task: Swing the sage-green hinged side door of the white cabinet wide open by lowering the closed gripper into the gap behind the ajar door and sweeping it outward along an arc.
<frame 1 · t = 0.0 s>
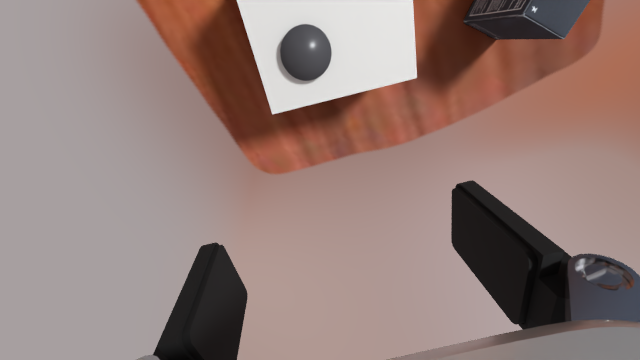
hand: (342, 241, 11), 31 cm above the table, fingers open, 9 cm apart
white cabinet: (321, 27, 35), on the table
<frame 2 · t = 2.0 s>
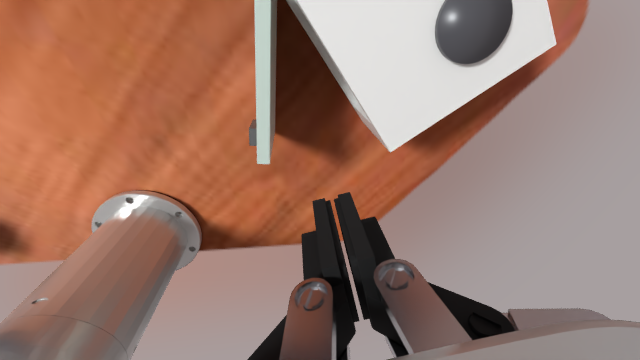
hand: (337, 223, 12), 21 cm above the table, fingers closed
side door: (261, 73, 23), point 5 cm above the table, hinge at 40.0°
white cabinet: (381, 14, 27), on the table
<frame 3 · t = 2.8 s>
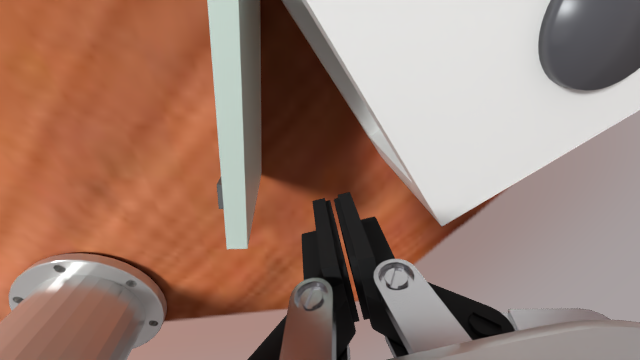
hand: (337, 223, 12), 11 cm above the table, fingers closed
side door: (235, 99, 15), point 5 cm above the table, hinge at 40.0°
white cabinet: (413, 9, 18), on the table
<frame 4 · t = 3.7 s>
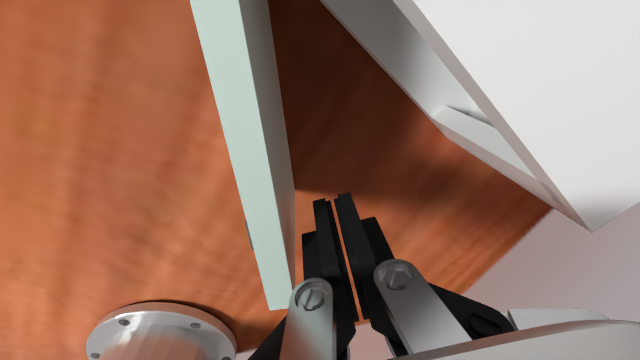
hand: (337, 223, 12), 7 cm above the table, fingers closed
side door: (252, 112, 11), point 5 cm above the table, hinge at 43.8°, touching gripper
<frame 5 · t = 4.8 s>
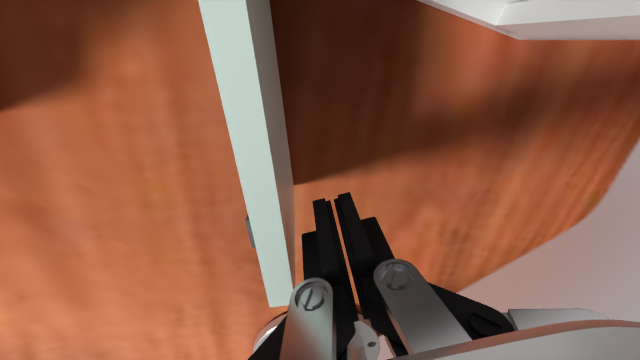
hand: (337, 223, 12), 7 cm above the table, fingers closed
side door: (253, 111, 12), point 5 cm above the table, hinge at 70.0°, touching gripper
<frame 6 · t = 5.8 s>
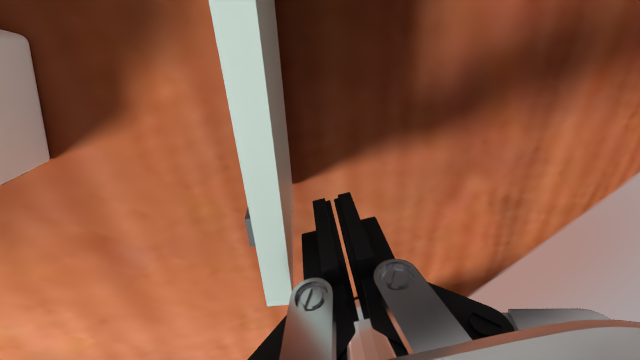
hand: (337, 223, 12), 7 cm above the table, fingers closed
side door: (256, 109, 12), point 5 cm above the table, hinge at 82.7°, touching gripper
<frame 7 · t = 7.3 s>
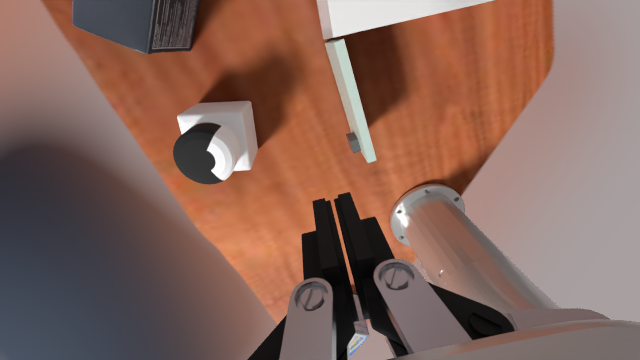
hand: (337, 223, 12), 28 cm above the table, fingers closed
side door: (345, 101, 32), point 5 cm above the table, hinge at 82.7°
white square bottle: (229, 127, 38), on the table
medicine box: (340, 303, 56), on the table
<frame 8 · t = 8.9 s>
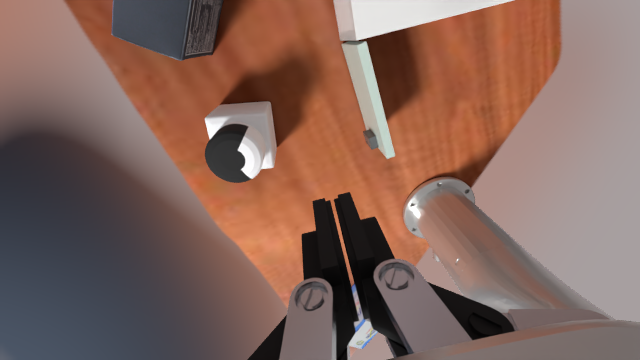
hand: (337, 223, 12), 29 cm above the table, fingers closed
side door: (363, 99, 34), point 5 cm above the table, hinge at 82.7°
white square bottle: (249, 127, 39), on the table
medicine box: (354, 295, 58), on the table
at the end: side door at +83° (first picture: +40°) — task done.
